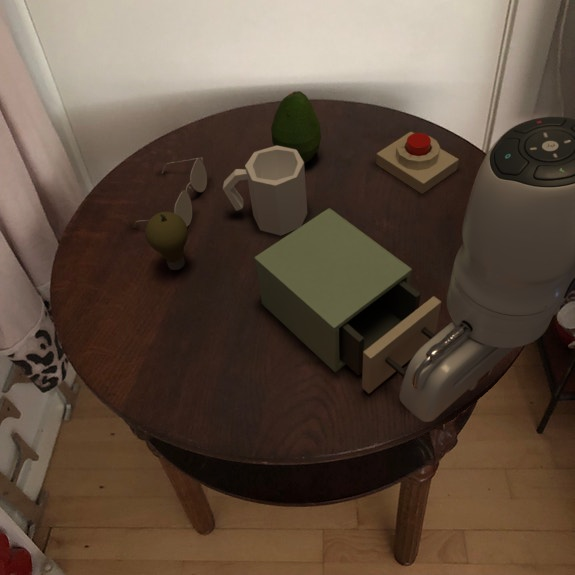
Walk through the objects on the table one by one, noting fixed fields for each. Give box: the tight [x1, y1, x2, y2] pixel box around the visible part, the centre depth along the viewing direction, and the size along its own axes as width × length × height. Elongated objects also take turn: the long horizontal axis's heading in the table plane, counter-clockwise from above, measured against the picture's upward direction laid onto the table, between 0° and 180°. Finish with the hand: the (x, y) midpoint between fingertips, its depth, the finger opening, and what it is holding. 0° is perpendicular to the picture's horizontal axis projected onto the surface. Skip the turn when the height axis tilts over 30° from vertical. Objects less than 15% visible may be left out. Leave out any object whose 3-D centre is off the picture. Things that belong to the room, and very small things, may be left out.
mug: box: [222, 145, 308, 237], centre depth 91 cm, size 12×9×10 cm
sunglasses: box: [133, 157, 208, 229], centre depth 97 cm, size 14×8×5 cm, turn 168°
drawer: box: [339, 280, 442, 395], centre depth 75 cm, size 18×11×8 cm, turn 40°
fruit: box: [270, 90, 322, 164], centre depth 98 cm, size 8×8×12 cm
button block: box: [375, 131, 460, 195], centre depth 98 cm, size 10×8×4 cm
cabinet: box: [253, 207, 413, 373], centre depth 79 cm, size 15×13×10 cm
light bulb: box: [145, 211, 189, 271], centre depth 86 cm, size 6×6×10 cm
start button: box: [406, 132, 431, 156], centre depth 96 cm, size 4×4×2 cm
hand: (474, 378), depth 64 cm, fingers closed
